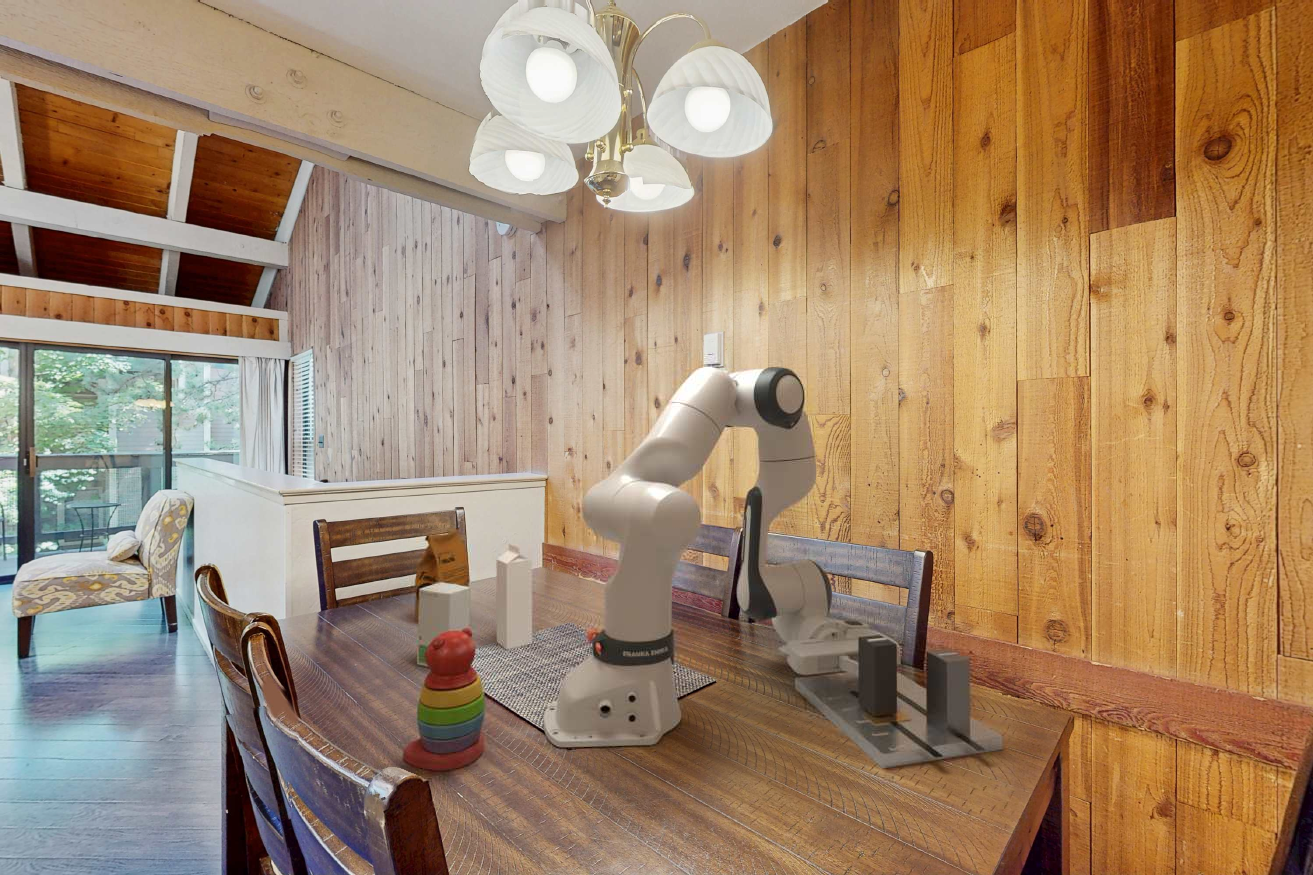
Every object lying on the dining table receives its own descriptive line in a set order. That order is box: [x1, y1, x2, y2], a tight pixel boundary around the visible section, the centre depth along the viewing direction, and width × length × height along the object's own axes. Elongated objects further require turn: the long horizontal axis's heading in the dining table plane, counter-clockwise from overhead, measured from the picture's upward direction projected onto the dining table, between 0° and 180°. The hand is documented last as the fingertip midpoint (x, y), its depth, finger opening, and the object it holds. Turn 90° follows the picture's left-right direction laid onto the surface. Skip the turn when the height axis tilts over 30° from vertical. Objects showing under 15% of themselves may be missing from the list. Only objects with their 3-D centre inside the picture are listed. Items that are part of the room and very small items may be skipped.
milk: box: [495, 543, 533, 651], centre depth 129 cm, size 6×6×22 cm
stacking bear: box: [403, 627, 486, 771], centre depth 84 cm, size 11×10×18 cm
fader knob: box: [858, 635, 898, 716], centre depth 93 cm, size 4×4×11 cm
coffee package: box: [414, 529, 470, 623], centre depth 147 cm, size 10×12×22 cm
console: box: [794, 648, 1003, 769], centre depth 94 cm, size 20×28×13 cm
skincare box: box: [416, 582, 471, 668], centre depth 118 cm, size 8×7×16 cm
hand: (868, 671), depth 95 cm, fingers closed, pressing on fader knob
